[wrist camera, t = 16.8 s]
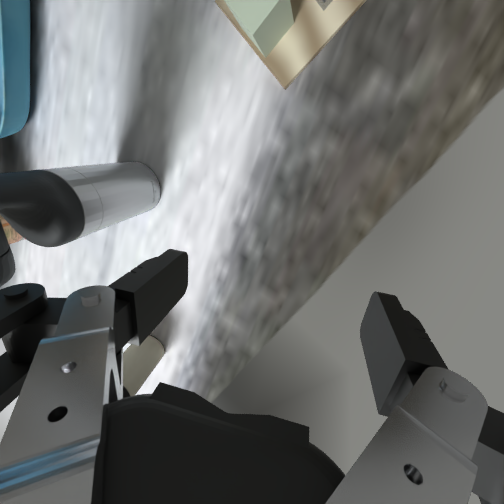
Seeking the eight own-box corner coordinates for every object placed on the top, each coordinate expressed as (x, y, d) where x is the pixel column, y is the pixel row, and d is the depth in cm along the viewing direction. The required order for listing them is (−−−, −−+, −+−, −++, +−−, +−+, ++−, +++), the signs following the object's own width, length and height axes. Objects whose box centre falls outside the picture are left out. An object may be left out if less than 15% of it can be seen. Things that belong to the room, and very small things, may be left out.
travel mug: (151, 329, 62) (92, 395, 45) (171, 353, 63) (121, 424, 47) (130, 339, 65) (69, 404, 49) (150, 361, 66) (97, 431, 50)
